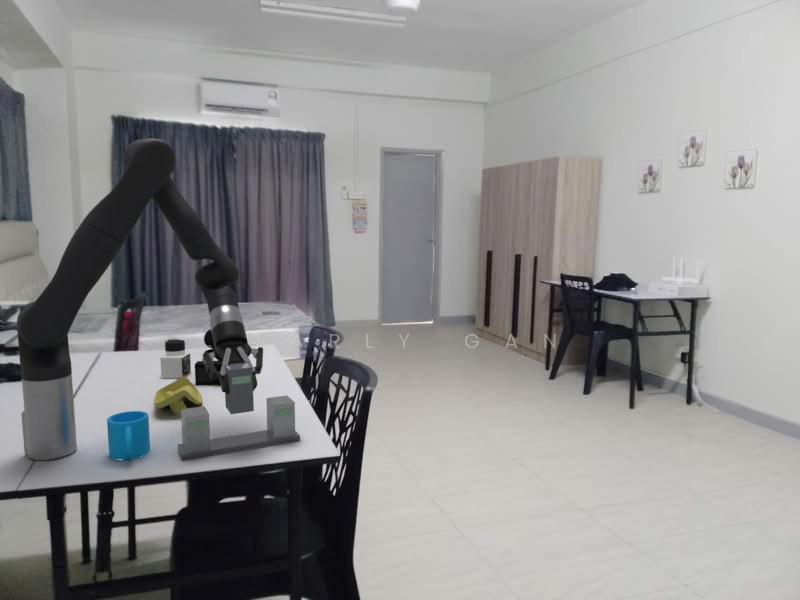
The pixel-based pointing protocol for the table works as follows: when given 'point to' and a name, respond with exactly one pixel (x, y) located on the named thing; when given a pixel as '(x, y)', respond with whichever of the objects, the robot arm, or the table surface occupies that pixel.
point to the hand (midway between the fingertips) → (240, 390)
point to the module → (239, 388)
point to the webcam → (209, 341)
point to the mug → (128, 435)
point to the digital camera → (206, 374)
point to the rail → (201, 445)
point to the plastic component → (177, 395)
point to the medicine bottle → (175, 360)
